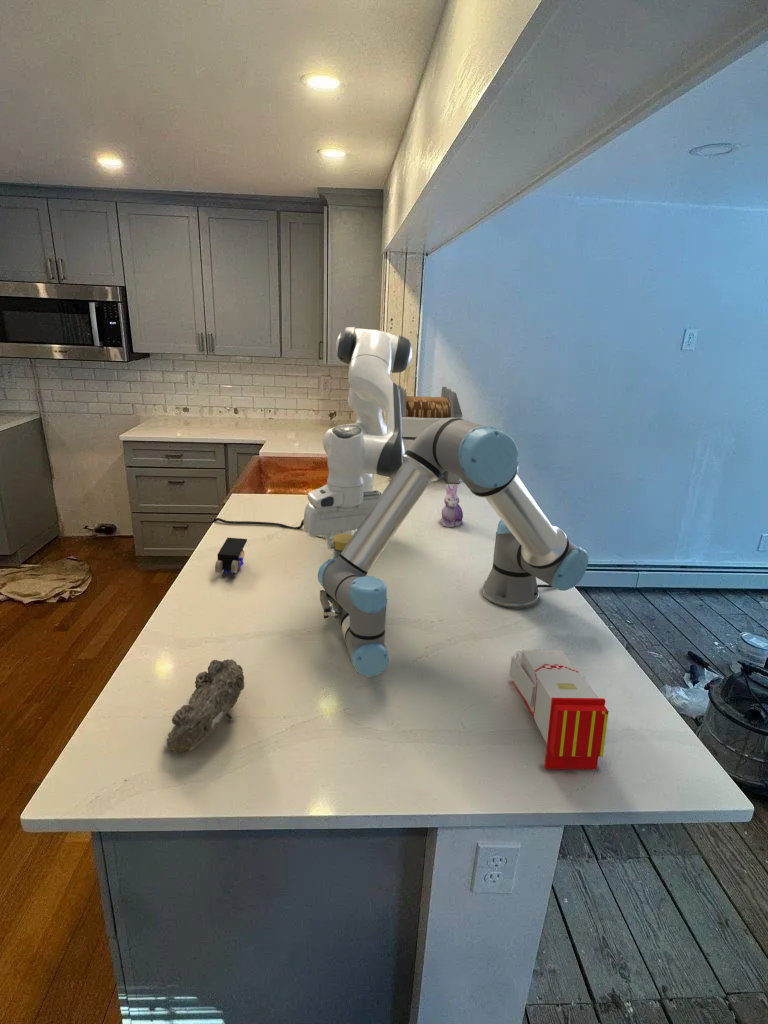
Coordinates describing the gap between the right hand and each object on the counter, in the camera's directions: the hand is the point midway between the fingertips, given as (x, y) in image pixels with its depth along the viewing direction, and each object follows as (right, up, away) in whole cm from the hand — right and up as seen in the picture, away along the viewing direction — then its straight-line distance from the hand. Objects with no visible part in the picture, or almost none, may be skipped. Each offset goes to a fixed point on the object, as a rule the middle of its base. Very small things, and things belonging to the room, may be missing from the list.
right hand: (339, 579), depth 150 cm
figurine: (+37, +14, +61) cm, 73 cm away
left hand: (+2, +9, -9) cm, 13 cm away
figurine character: (-33, +1, +17) cm, 37 cm away
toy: (+44, -23, -38) cm, 63 cm away
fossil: (-21, -21, -42) cm, 52 cm away
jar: (+1, -8, -3) cm, 8 cm away
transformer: (+29, +37, +125) cm, 133 cm away
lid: (+2, +11, -9) cm, 15 cm away
